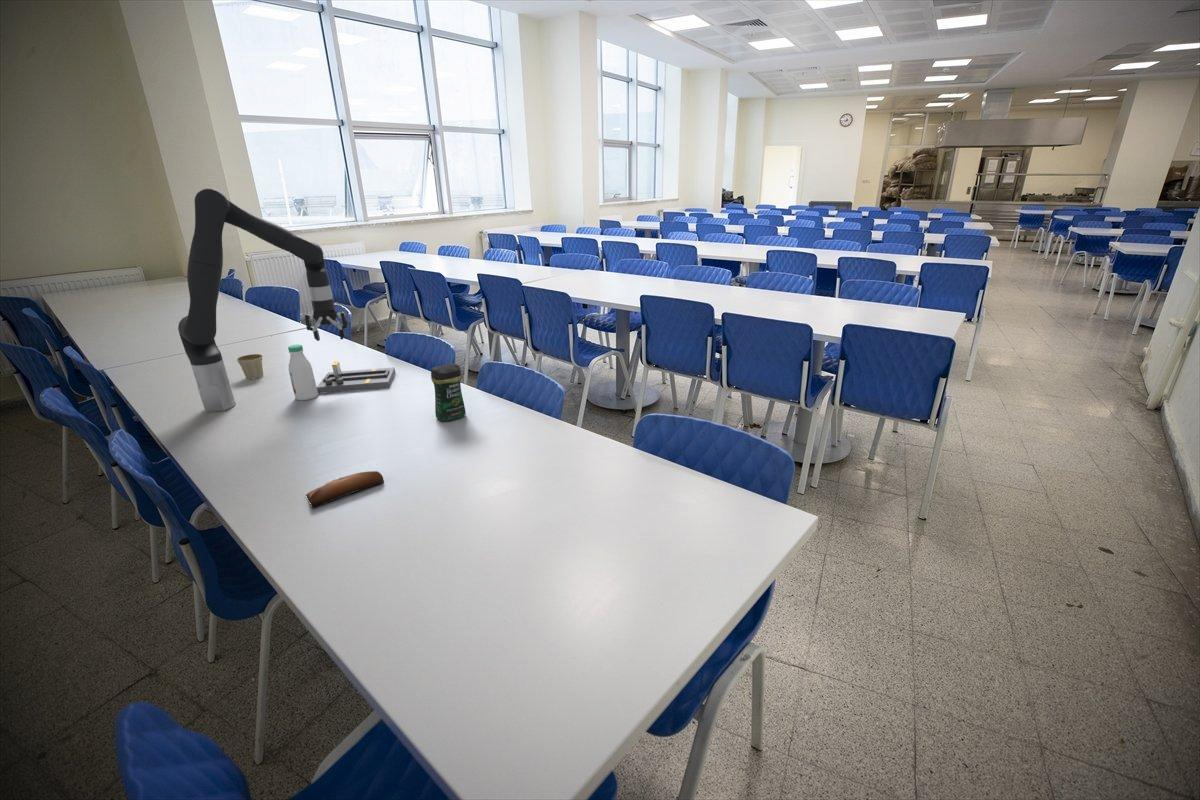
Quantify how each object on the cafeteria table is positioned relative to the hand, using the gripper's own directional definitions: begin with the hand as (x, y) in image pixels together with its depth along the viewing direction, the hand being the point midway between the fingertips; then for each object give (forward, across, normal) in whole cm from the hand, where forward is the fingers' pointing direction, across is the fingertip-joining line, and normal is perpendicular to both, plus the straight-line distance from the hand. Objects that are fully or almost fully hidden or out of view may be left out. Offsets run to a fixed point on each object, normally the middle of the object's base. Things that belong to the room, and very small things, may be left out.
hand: (330, 339), depth 207 cm
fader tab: (+16, 0, 0) cm, 16 cm away
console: (+18, +7, 0) cm, 20 cm away
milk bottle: (+18, -9, -12) cm, 24 cm away
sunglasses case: (+19, +19, -86) cm, 91 cm away
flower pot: (+18, -37, +18) cm, 45 cm away
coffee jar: (+18, +45, -45) cm, 66 cm away
